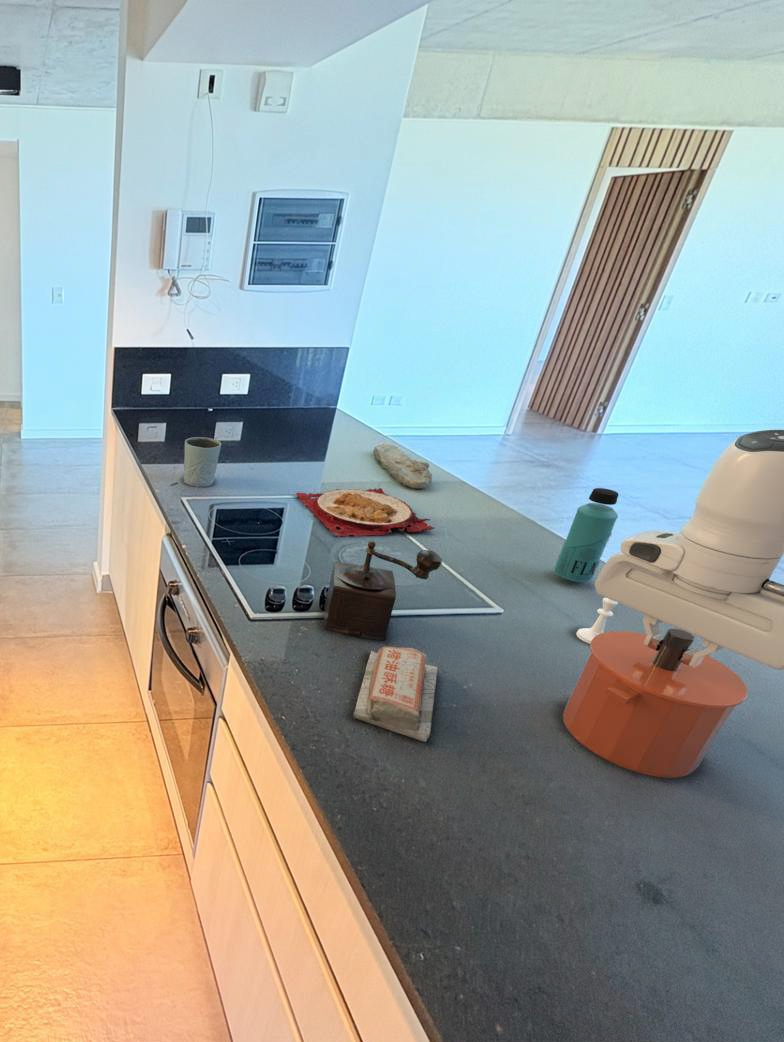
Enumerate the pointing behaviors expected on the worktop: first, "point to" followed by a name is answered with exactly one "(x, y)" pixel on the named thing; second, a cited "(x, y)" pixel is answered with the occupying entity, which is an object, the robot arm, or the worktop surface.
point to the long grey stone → (403, 467)
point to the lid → (668, 669)
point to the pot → (639, 725)
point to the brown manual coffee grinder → (368, 594)
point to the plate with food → (362, 512)
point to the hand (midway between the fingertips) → (669, 655)
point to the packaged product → (398, 692)
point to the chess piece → (597, 622)
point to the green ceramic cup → (200, 461)
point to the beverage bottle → (587, 537)
